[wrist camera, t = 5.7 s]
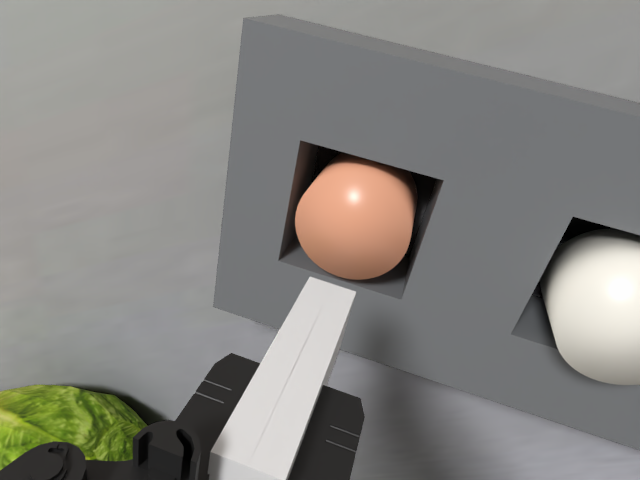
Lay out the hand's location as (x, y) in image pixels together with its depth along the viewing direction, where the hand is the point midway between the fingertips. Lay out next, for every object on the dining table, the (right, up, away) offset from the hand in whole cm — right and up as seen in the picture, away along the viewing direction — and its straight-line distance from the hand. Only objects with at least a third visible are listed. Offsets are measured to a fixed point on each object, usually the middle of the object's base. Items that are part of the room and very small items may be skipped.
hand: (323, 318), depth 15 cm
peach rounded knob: (+2, +5, +8) cm, 10 cm away
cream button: (+12, +1, +6) cm, 13 cm away
